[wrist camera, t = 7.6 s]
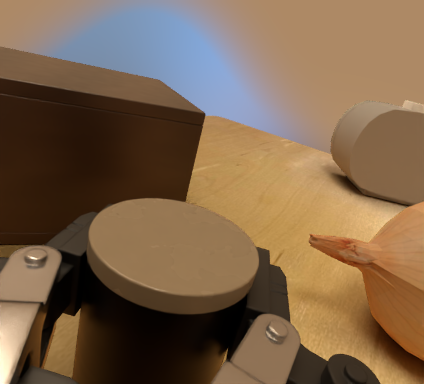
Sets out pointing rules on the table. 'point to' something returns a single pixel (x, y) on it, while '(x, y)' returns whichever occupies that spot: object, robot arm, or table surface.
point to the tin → (160, 293)
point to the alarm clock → (383, 150)
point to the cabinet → (85, 143)
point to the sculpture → (390, 274)
